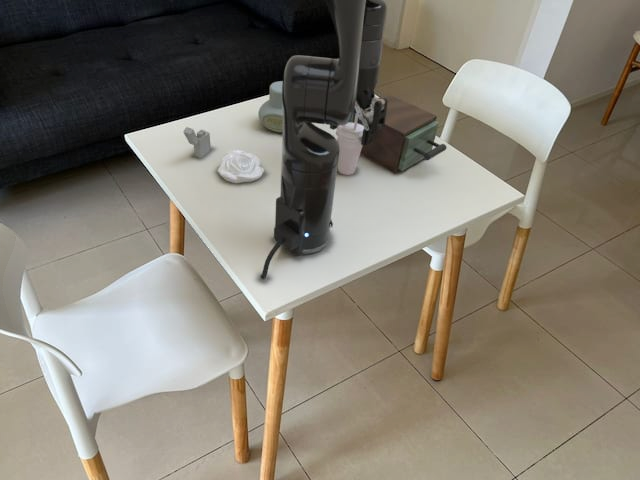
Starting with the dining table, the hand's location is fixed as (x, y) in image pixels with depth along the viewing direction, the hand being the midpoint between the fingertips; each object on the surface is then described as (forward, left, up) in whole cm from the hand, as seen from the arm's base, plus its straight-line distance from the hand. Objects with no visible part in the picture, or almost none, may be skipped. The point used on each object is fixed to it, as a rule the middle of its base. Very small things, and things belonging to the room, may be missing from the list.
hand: (349, 135), depth 109 cm
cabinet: (+13, -1, -8) cm, 15 cm away
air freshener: (+2, +23, -8) cm, 24 cm away
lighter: (-21, +25, -8) cm, 33 cm away
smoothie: (0, 0, -8) cm, 8 cm away
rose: (-18, +14, -8) cm, 24 cm away
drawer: (+13, -5, -7) cm, 16 cm away
